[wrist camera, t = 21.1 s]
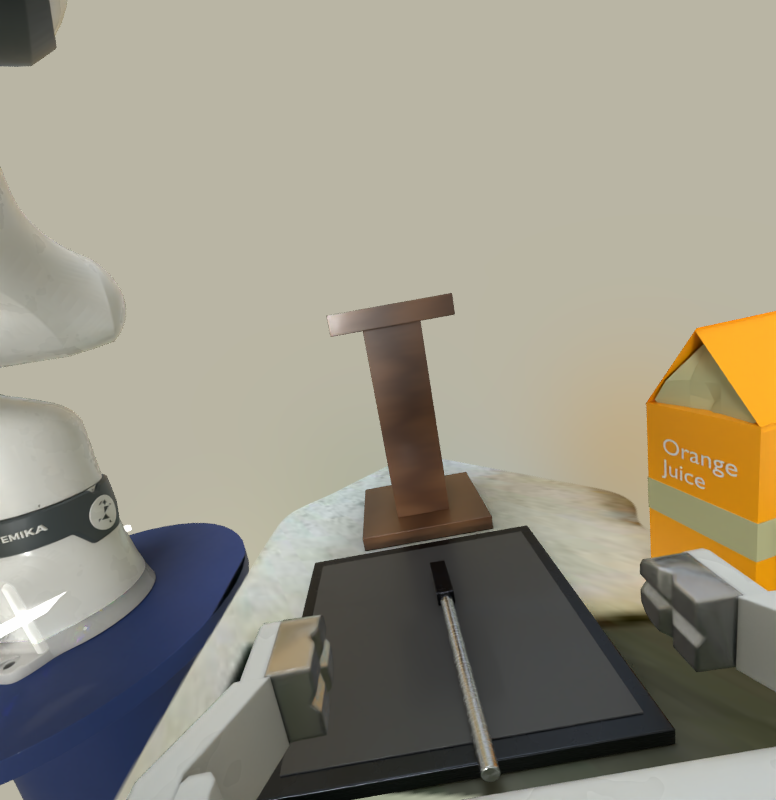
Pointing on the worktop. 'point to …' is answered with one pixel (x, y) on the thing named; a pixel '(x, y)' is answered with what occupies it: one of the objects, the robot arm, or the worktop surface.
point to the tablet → (437, 678)
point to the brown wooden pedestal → (409, 431)
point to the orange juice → (717, 448)
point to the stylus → (465, 675)
